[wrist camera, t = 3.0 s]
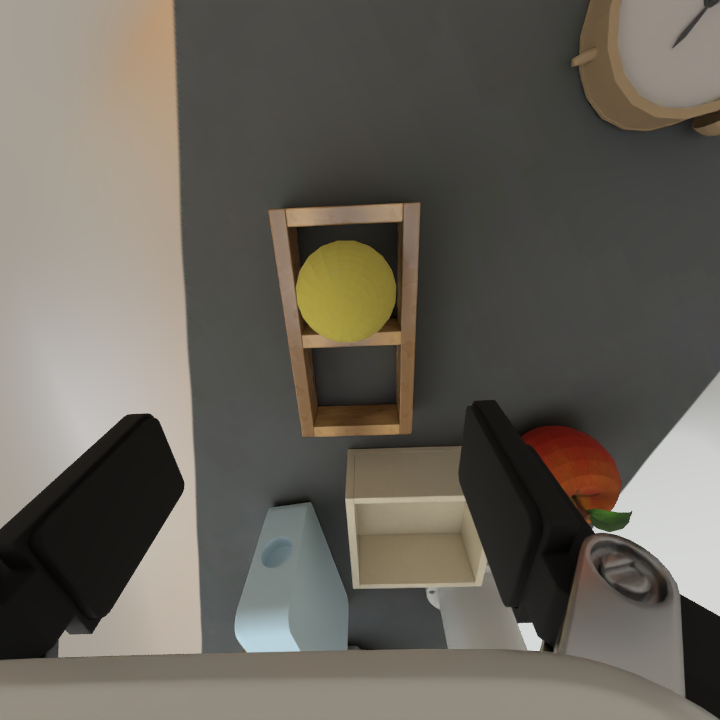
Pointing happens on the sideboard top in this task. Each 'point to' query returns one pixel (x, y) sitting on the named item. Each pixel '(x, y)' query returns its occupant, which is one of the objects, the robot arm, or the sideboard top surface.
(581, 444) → the fruit
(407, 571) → the wooden box
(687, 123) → the sideboard top surface
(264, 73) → the sideboard top surface
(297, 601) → the radio
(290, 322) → the wooden frame
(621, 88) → the alarm clock
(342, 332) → the light bulb
